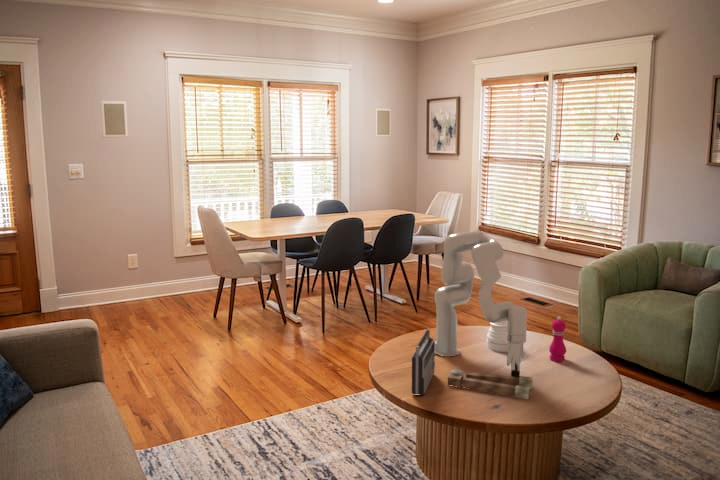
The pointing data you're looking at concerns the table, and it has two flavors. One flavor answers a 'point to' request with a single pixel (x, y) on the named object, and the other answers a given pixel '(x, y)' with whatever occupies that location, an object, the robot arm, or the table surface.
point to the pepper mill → (558, 341)
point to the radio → (423, 364)
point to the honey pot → (498, 336)
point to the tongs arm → (502, 379)
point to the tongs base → (488, 385)
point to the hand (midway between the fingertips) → (515, 380)
